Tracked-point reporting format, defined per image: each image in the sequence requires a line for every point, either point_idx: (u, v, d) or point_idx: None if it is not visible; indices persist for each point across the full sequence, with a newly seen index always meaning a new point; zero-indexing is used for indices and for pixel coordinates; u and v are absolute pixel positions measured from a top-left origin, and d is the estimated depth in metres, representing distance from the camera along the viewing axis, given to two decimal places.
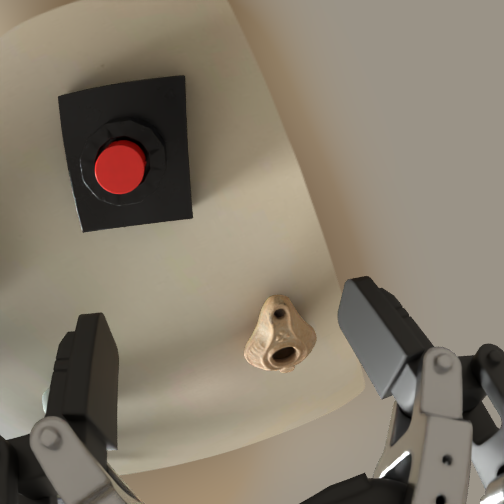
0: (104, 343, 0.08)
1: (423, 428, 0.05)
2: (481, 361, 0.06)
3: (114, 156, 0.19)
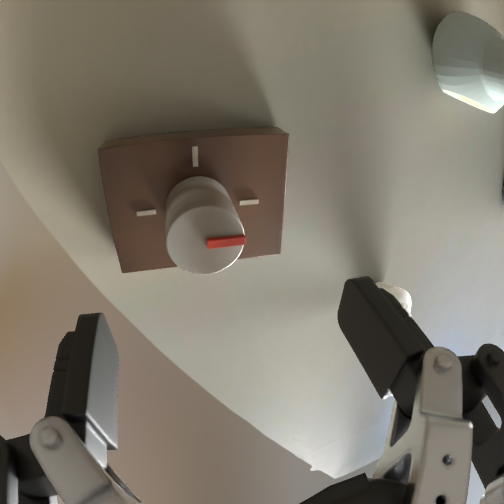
0: (104, 343, 0.08)
1: (424, 428, 0.05)
2: (481, 361, 0.06)
3: None
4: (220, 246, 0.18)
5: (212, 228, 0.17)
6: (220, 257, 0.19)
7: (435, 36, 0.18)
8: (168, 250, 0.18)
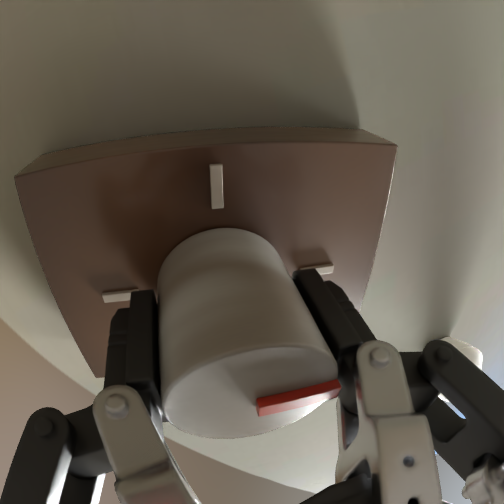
0: (156, 318, 0.09)
1: (374, 435, 0.05)
2: (427, 358, 0.07)
3: None
4: (287, 409, 0.07)
5: (273, 381, 0.07)
6: (280, 416, 0.08)
7: None
8: (170, 419, 0.07)
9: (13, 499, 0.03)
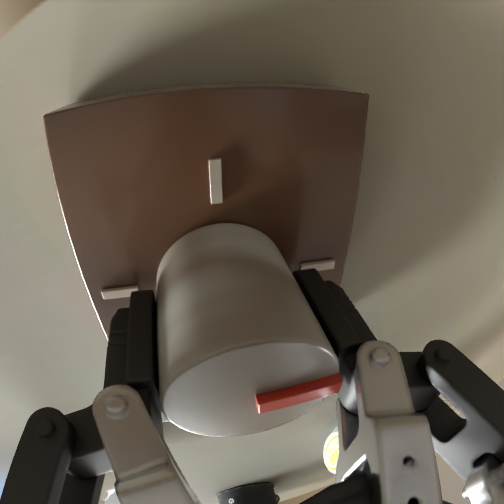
0: None
1: (374, 435, 0.05)
2: (427, 358, 0.07)
3: None
4: (288, 405, 0.07)
5: (271, 377, 0.07)
6: (283, 412, 0.08)
7: None
8: (170, 418, 0.07)
9: (13, 499, 0.03)
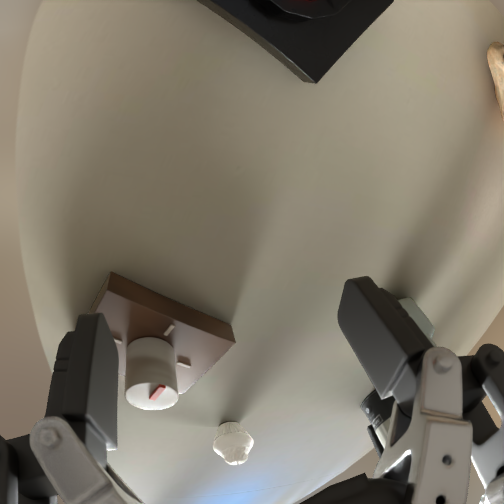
0: (104, 343, 0.08)
1: (423, 428, 0.05)
2: (481, 361, 0.06)
3: None
4: (157, 396, 0.23)
5: (143, 392, 0.23)
6: (167, 396, 0.23)
7: None
8: None
9: None
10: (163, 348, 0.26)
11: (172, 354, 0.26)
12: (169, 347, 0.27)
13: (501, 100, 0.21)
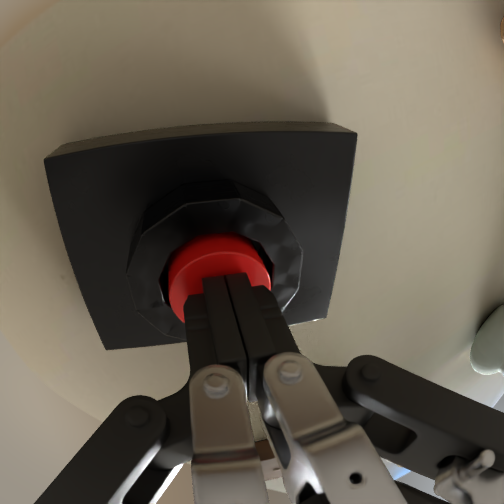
0: None
1: (308, 461, 0.05)
2: (348, 375, 0.07)
3: None
4: None
5: None
6: None
7: (481, 339, 0.27)
8: None
9: (74, 479, 0.04)
10: None
11: None
12: None
13: None
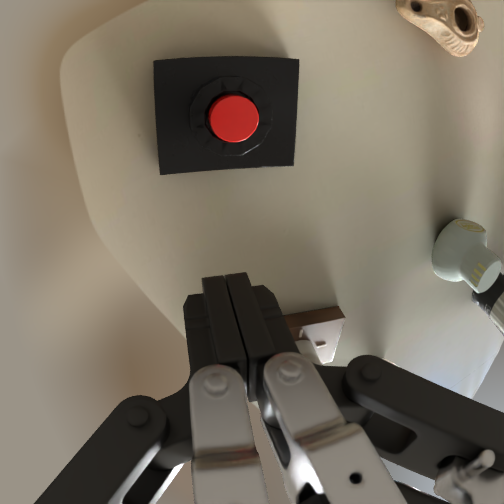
0: None
1: (308, 461, 0.05)
2: (348, 375, 0.07)
3: (221, 122, 0.21)
4: None
5: None
6: None
7: (437, 243, 0.38)
8: None
9: (74, 479, 0.04)
10: (303, 345, 0.40)
11: (310, 345, 0.41)
12: (306, 342, 0.41)
13: (435, 39, 0.22)
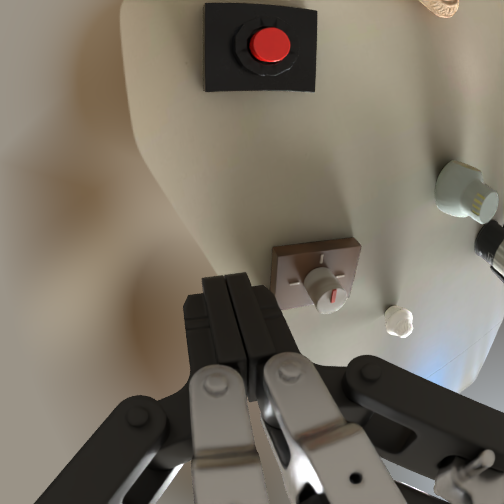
0: None
1: (308, 461, 0.05)
2: (348, 375, 0.07)
3: (261, 45, 0.24)
4: (334, 298, 0.41)
5: (326, 300, 0.41)
6: (340, 295, 0.41)
7: (439, 180, 0.42)
8: (331, 312, 0.43)
9: (74, 479, 0.04)
10: (324, 271, 0.43)
11: (330, 272, 0.44)
12: (326, 269, 0.44)
13: (422, 3, 0.25)
